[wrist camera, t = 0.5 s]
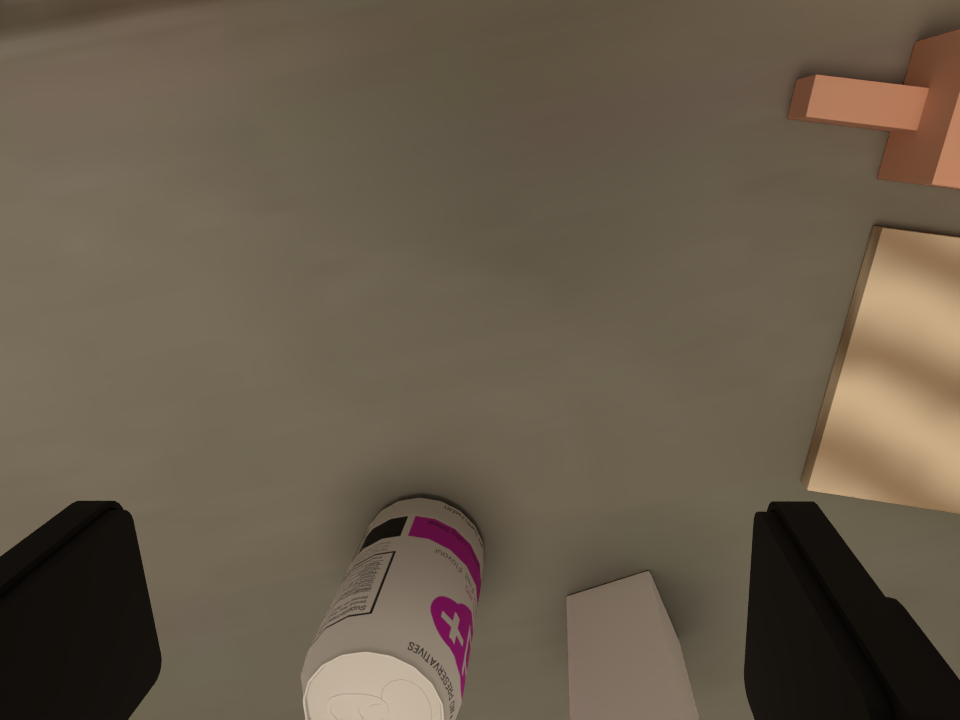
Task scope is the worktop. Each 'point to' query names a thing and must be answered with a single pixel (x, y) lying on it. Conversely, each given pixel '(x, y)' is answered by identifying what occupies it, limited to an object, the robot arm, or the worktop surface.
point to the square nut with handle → (899, 112)
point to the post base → (896, 379)
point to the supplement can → (399, 620)
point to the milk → (625, 655)
